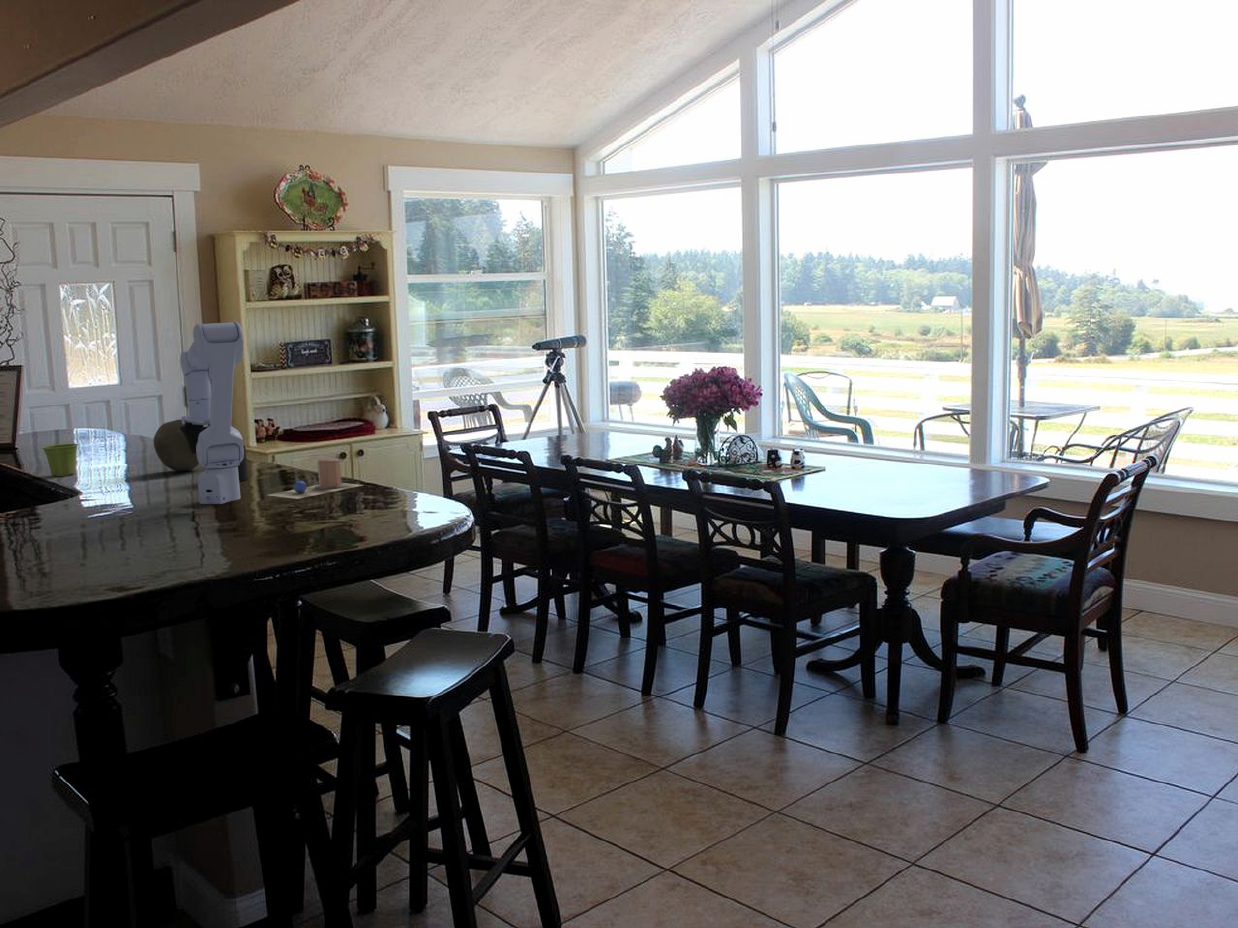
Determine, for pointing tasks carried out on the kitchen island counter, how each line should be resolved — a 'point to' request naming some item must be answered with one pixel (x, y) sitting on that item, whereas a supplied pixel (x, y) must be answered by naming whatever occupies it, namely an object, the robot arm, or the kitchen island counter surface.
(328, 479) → the wooden block
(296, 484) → the marble
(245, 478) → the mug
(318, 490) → the board
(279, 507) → the kitchen island counter surface
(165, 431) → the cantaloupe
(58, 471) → the plant pot
